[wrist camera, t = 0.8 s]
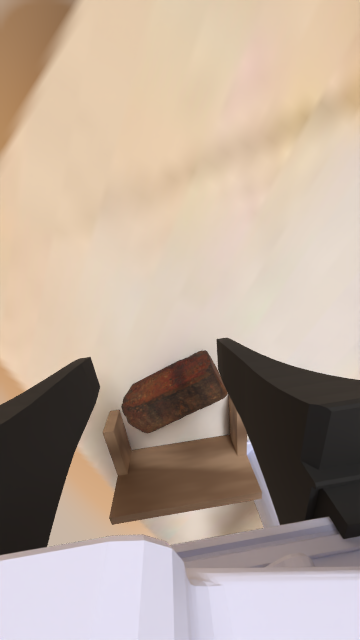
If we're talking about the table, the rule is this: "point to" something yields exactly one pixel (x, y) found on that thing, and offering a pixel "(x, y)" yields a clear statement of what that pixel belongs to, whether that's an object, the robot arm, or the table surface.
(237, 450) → the book rack
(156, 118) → the table surface
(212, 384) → the brick
